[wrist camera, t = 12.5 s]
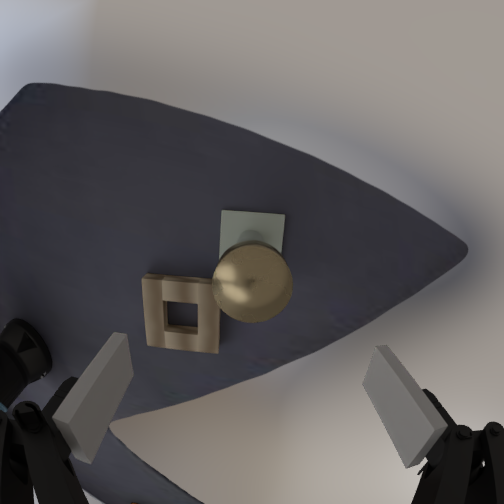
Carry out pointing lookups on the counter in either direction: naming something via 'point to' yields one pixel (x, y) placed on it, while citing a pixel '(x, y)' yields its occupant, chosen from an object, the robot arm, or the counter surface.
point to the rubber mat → (250, 227)
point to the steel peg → (252, 280)
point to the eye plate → (187, 291)
